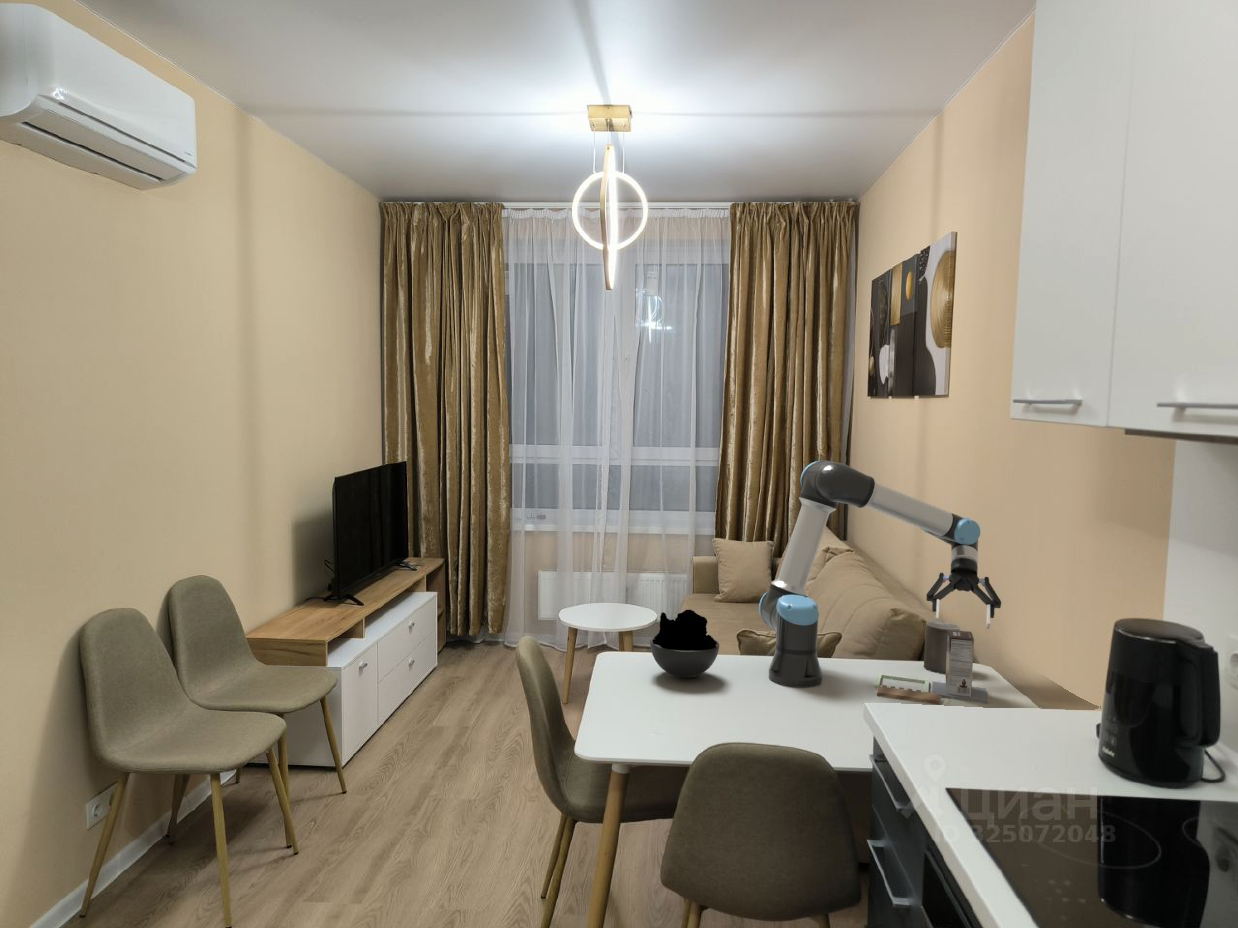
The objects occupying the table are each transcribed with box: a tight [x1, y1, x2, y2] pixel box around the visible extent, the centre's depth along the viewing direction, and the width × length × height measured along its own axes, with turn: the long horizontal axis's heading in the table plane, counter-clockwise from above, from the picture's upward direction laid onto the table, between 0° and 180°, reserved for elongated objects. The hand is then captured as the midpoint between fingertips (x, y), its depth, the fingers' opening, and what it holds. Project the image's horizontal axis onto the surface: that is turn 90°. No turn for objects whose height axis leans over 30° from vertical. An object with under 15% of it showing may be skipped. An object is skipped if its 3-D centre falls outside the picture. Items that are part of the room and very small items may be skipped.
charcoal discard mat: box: [931, 681, 989, 704], centre depth 224 cm, size 14×12×1 cm
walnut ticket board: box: [876, 685, 941, 706], centre depth 220 cm, size 16×6×1 cm, turn 68°
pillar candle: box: [923, 620, 961, 674], centre depth 247 cm, size 10×10×15 cm
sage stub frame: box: [874, 672, 930, 693], centre depth 230 cm, size 14×12×1 cm
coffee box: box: [945, 630, 975, 697], centre depth 224 cm, size 9×6×16 cm
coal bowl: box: [649, 609, 720, 679], centre depth 232 cm, size 20×20×19 cm
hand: (962, 623), depth 232 cm, fingers open, 13 cm apart
